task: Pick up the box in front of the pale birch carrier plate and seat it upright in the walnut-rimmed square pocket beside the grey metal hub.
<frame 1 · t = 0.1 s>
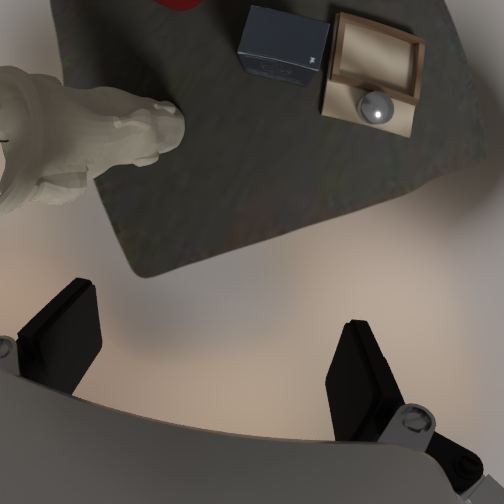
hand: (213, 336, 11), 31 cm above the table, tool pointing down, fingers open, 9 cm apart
box: (280, 60, 34), on the table
vase: (159, 130, 38), on the table
carrier plate: (373, 74, 34), on the table
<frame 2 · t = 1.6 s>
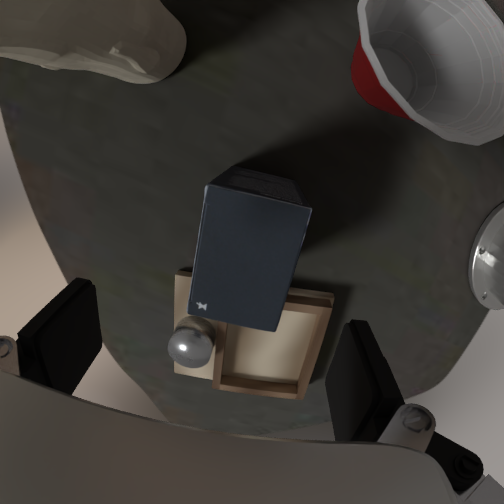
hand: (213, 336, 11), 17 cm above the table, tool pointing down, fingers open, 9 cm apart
box: (254, 215, 27), on the table
vase: (148, 46, 22), on the table
plastic cup: (383, 75, 22), on the table
carrier plate: (247, 335, 31), on the table
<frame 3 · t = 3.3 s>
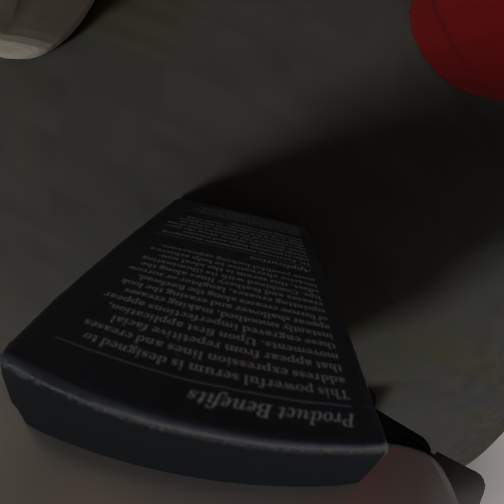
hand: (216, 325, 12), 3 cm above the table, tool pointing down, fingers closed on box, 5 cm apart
box: (224, 290, 14), on the table, touching gripper
plastic cup: (460, 35, 9), on the table
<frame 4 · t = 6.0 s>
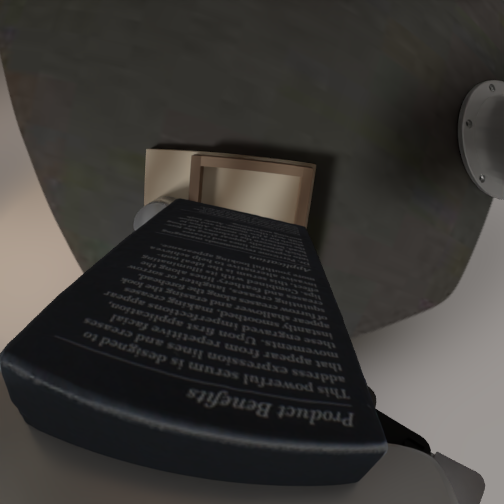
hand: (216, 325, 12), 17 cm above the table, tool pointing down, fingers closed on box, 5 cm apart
box: (224, 290, 14), point 15 cm above the table, touching gripper
carrier plate: (224, 220, 28), on the table
when the fingers open (4 cm above the table, at t = 8.5 s): box stays where it is, resting on carrier plate.
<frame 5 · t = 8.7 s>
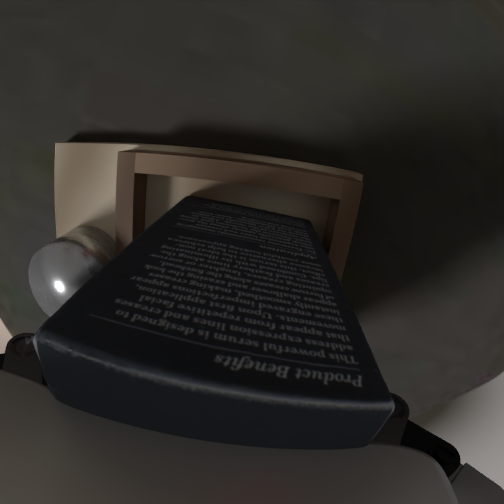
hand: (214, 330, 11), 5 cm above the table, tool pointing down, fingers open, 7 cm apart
box: (233, 282, 15), point 1 cm above the table, touching carrier plate
carrier plate: (188, 270, 16), on the table
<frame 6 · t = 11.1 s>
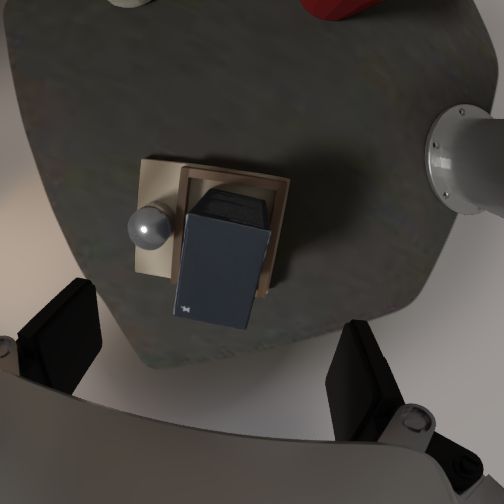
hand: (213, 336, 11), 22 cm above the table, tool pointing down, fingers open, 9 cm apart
box: (229, 230, 31), point 1 cm above the table, touching carrier plate
carrier plate: (207, 225, 32), on the table
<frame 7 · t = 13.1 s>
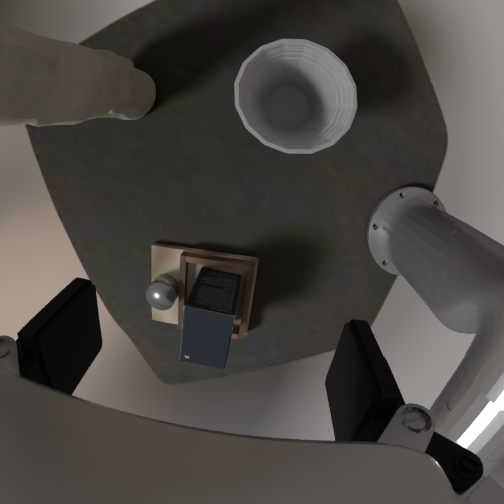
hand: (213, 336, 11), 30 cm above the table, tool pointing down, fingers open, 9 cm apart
box: (217, 294, 44), point 1 cm above the table, touching carrier plate
vase: (132, 93, 35), on the table
plastic cup: (288, 105, 36), on the table
carrier plate: (202, 289, 45), on the table
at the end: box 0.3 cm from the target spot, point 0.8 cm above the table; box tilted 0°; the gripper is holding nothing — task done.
